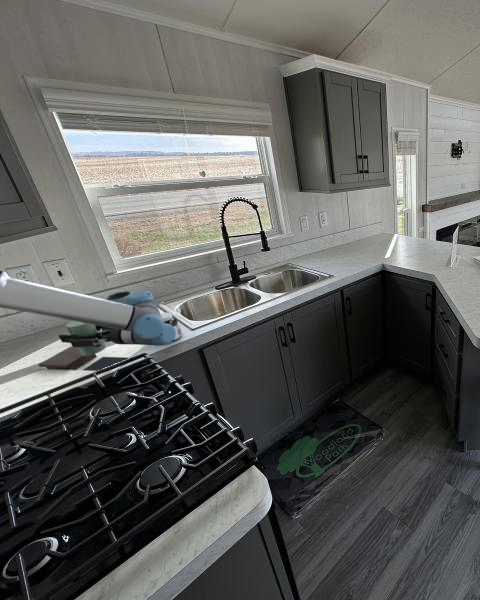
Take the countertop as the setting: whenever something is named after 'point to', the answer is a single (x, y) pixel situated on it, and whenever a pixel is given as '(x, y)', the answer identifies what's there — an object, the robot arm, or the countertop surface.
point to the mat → (104, 363)
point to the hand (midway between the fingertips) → (72, 332)
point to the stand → (67, 360)
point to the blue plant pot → (118, 297)
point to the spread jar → (174, 322)
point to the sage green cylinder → (82, 330)
